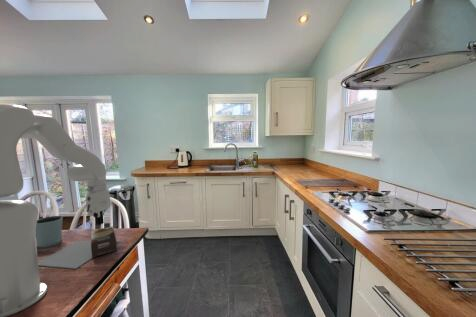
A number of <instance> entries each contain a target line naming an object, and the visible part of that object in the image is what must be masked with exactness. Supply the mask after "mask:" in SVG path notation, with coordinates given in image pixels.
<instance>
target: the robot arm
mask: <svg viewBox="0 0 476 317" xmlns="http://www.w3.org/2000/svg"><path fill="white" fill-rule="evenodd" d="M20 139H35V140H37V142H38V143H39V144H40V145H42V147H43V148H44V149H45V150H46V151H47V152H48V153H49V155H51V156H52V157H53V158H56V159H57V160H58V159H59V160H61V161H65V162H69V163H73V164H75V165H72V166H70V167H69V168H68V169H67V171H66V176H67V178H68V179H69V180H71V181H74V182H86V184H87V186H86V187H87V188H86V191H87V192H86V196H85V197H86V199H85V210H86V212H87V216H88V217H92V216H93V218H94V223H95V225H97V226H98V225H99V226H102V224H104V216H105V213H106V211H108V210H109V208H111V206H112V204H111V198H110V197H111V196H110V191H109V190H108V189H107V169H106V168H107V167H106V165H105V163H103V161H102V160H101V159H100V158H99V157H98V156H97V155H96V154H94V153H93V152H91V151H89V150H87V149H85V147H81V146H80V145H77V144H76V142H74V140H73V139H72V138H71V136H70V135H69V133H68V132H67V131H66V130H65V129H64V127H63V126H62V125H61V124H60V122H59V121H58V120H57V119H56V118H55V117H53V116H51V115H47V114H40V113H39V114H38V113H37V114H36V113H35V114H34V112H33V111H32V110H31V109H29V108H27V107H26V106H23V105H18V104H0V317H9V316H10V315H11V316H12V315H14V314H17V313H19V312H21V311H24V310H25V309H27V308H29V307H30V306H33V305H34V304H36V303H37V302H38V301H39V300H41V299H42V298H43V297H44V296H45V294H46V293H47V292H48V285H47V284H46V283H44V282H40V281H41V280H40V269H39V266H38V261H39V260H38V246H37V240H36V224H37V220H38V219H39V210H38V209H39V208H38V207H37V205H36V204H35V203H33V202H32V201H28V200H23V199H22V200H21V199H5V198H10V197H13V196H16V195H18V194H19V193H20V192H22V190H23V189H24V178H23V173H22V168H21V165H20V162H19V158H18V151H17V146H18V144H19V142H20ZM3 198H4V199H5V200H3ZM1 199H2V200H1Z"/></svg>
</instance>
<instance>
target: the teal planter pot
mask: <svg viewBox="0 0 476 317" xmlns="http://www.w3.org/2000/svg"><path fill="white" fill-rule="evenodd" d="M63 218H64V217H63V216H62V215H52V216H45V217H42V218H38V219H37V224H36V246H37V248H48V247H52V246H54V245H56V244H59V243H60V242H62V235H63V234H62V233H63V232H62V230H63Z"/></svg>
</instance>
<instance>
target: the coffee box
mask: <svg viewBox="0 0 476 317" xmlns="http://www.w3.org/2000/svg"><path fill="white" fill-rule="evenodd" d="M114 230H115V229H114V226H107V227H104V228H103V227H102V228H98V229H97V228H96V229H94V230H90V232H91V233H90V234H91V235H90V236H91V237H90V238H91V239H90V240H91V241H90V242H91V252H92V259H94V258H96V257H99V256H103V255H106V254H111V253H114V252H117V240H116V239H117V238H116V234H115V231H114ZM93 257H94V258H93Z"/></svg>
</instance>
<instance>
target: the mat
mask: <svg viewBox="0 0 476 317" xmlns="http://www.w3.org/2000/svg"><path fill="white" fill-rule="evenodd" d="M94 258H95V257H93V258H92V252H91V241H90V240H89V241H87V240H86V241H85V240H77V241H75V242H73V243H71V244H70V245H68V246H66V247H64V248H61V249H60V250H57V251H56V252H54V253H52V254H50V255H48V256H46V257H44V258H42V259H40V260H38V267H44V268H45V267H48V268H58V269H70V270H78V269H79V268H80V267H82V266H83V265H85V264H87V263H88V262H89V261H91V260H92V259H94Z"/></svg>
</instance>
